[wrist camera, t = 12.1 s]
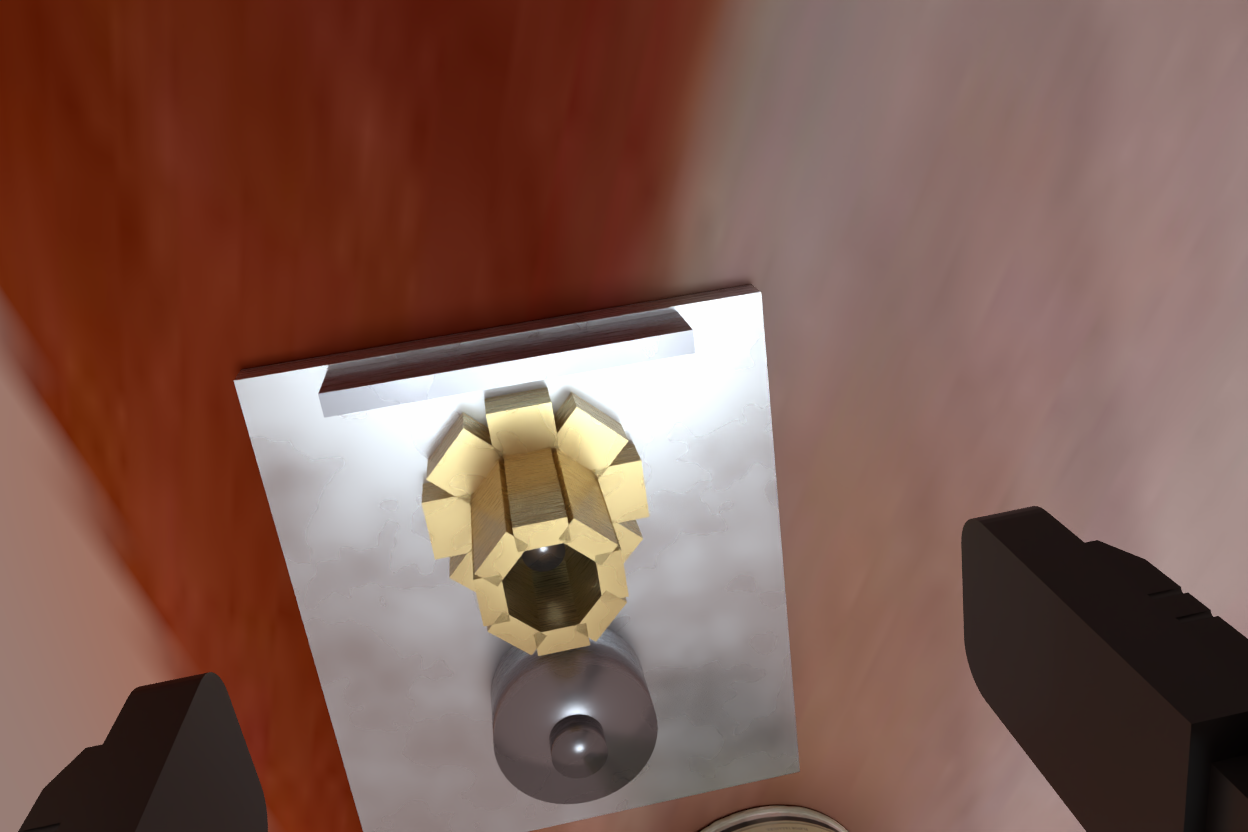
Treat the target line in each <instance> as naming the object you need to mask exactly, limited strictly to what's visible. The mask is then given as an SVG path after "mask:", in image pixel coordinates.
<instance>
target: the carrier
mask: <svg viewBox="0 0 1248 832" xmlns="http://www.w3.org/2000/svg"><path fill="white" fill-rule="evenodd" d="M234 383H235V387H236V390H237V394H238V397H239V401H240V404H241V408H242V411H243V415H244V418H245V422H246V425H247V429H248V432H249V436H250V439H251V443H252V446H253V449H254V453H255V456H256V460H257V463H258V467H259V470H260V474H261V477H262V481H263V484H264V488H265V491H266V495H267V498H268V502H269V505H270V509H271V512H272V516H273V519H274V523H275V526H276V530H277V533H278V537H279V540H280V543H281V547H282V550H283V554H284V557H285V561H286V564H287V568H288V571H289V575H290V578H291V582H292V585H293V589H294V592H295V596H296V599H297V603H298V606H299V610H300V613H301V617H302V620H303V624H304V627H305V631H306V634H307V637H308V641H309V644H310V648H311V651H312V655H313V658H314V662H315V665H316V669H317V672H318V676H319V679H320V683H321V686H322V690H323V693H324V697H325V700H326V704H327V707H328V711H329V714H330V718H331V721H332V724H333V728H334V731H335V735H336V738H337V742H338V745H339V749H340V752H341V756H342V759H343V763H344V766H345V770H346V773H347V777H348V780H349V784H350V787H351V791H352V794H353V798H354V801H355V805H356V808H357V812H358V815H359V818H360V822H361V825H362V829H363V832H528V831H532V830H537V829H541V828H546V827H550V826H555V825H560V824H564V823H569V822H573V821H578V820H582V819H587V818H591V817H596V816H600V815H605V814H609V813H614V812H619V811H623V810H628V809H632V808H637V807H641V806H646V805H650V804H655V803H659V802H664V801H668V800H673V799H678V798H682V797H687V796H691V795H696V794H700V793H705V792H709V791H714V790H718V789H723V788H727V787H732V786H737V785H741V784H746V783H750V782H755V781H759V780H764V779H768V778H773V777H777V776H782V775H786V774H791V773H796V772H800V769H799V756H798V744H797V732H796V719H795V707H794V694H793V682H792V670H791V657H790V645H789V632H788V620H787V607H786V595H785V583H784V570H783V558H782V545H781V533H780V521H779V508H778V496H777V483H776V471H775V459H774V446H773V434H772V421H771V409H770V396H769V384H768V372H767V359H766V347H765V334H764V322H763V310H762V297H761V291H759V290H758V289H757V288H756V287H754V286H753V285H752V284H750V285H744V286H738V287H732V288H726V289H720V290H715V291H709V292H703V293H697V294H691V295H685V296H679V297H673V298H667V299H661V300H655V301H649V302H643V303H637V304H631V305H625V306H619V307H613V308H607V309H601V310H595V311H589V312H583V313H577V314H571V315H565V316H559V317H553V318H547V319H541V320H536V321H530V322H524V323H518V324H512V325H506V326H500V327H494V328H488V329H482V330H476V331H470V332H464V333H458V334H452V335H446V336H440V337H434V338H428V339H422V340H416V341H410V342H404V343H398V344H392V345H386V346H380V347H374V348H368V349H362V350H357V351H351V352H345V353H339V354H333V355H327V356H321V357H315V358H309V359H303V360H297V361H291V362H285V363H279V364H273V365H267V366H261V367H255V368H249V369H243V370H241V371H240V372H239V374H238V375H237V377H236V378H235V380H234ZM545 387H547V388H548V392H549V396H550V399H551V403H552V409H553V415H555V413H556V412H557V411H558V409H559V408H560V407H561V405H562V404H563V403H564V401H565V400H566V399H567V397H568V396H569V395H570V393H571V392H573V393H574V394H576V395H577V396H579V397H580V398H582V399H583V400H585V401H586V402H588V403H589V404H591V405H592V406H594V407H596V408H597V409H599V410H600V411H602V412H603V413H605V414H606V415H608V416H609V417H611V418H612V419H614V420H615V421H617V422H618V423H620V424H621V425H622V427H623V429H624V432H625V434H626V436H627V438H628V442H627V443H626V445H627V444H632V443H634V445H635V448H636V450H637V452H638V454H639V456H640V459H641V462H642V469H643V476H644V482H645V489H646V496H647V503H648V510H649V517H646V518H641V519H636V521H637V524H638V526H639V529H640V532H641V534H642V537H643V540H642V541H641V542H640V543H639V545H638V546H637V547H636V548H635V550H634V551H633V552H632V554H631V555H630V556H629V557H628V559H627V560H626V561H625V562H624V569H625V575H626V582H627V588H628V594H629V597H626V600H627V603H626V605H625V606H624V607H623V608H622V610H621V611H620V612H619V613H618V615H617V616H616V617H615V618H614V620H613V621H612V622H611V623H610V625H609V626H608V627H607V628H606V630H605V631H604V632H603V633H602V635H601V636H600V637H599V638H598V640H597V641H596V642H595V641H594V640H592V639H590V638H589V642H590V645H589V646H584V647H579V648H575V649H570V650H565V651H561V652H556V653H551V654H546V655H542V656H538V653H537V649H536V650H535V652H534V653H533V654H532V655H530V654H528V653H526V652H524V651H523V650H521V649H519V648H517V647H515V646H513V645H511V644H510V643H508V642H506V641H504V640H502V639H500V638H498V637H497V636H495V635H493V634H491V633H489V632H487V626H483V622H482V617H481V613H480V608H479V604H478V599H477V595H476V592H474V591H472V590H470V589H469V588H467V587H465V586H463V585H461V584H459V583H458V582H456V581H454V580H452V579H450V578H449V563H450V557H446V558H441V559H436V560H435V558H434V553H433V549H432V545H431V541H430V537H429V532H428V528H427V524H426V520H425V516H424V511H423V507H422V489H423V484H425V483H430V481H428V480H426V478H427V462H428V460H429V459H430V457H431V456H432V454H433V453H434V452H435V450H436V449H437V447H438V446H439V445H440V443H441V442H442V440H443V439H444V438H445V436H446V435H447V434H448V432H449V431H450V429H451V428H452V427H453V425H454V424H455V422H456V421H457V420H458V418H459V417H460V415H461V414H462V413H463V412H464V413H465V414H467V415H469V416H470V417H472V418H473V419H475V420H477V421H478V422H480V423H482V424H483V425H485V426H486V427H488V423H487V418H486V412H485V400H484V399H485V398H491V397H496V396H502V395H507V394H512V393H518V392H523V391H529V390H534V389H539V388H545ZM564 556H565V545H564V543H562V544H557V545H552V546H547V547H542V548H537V549H532V550H527V551H524V552H523V554H522V559H523V561H524V563H525V564H526V565H527V566H528V567H529V568H531V569H532V570H535V571H540V572H544V571H549V570H552V569H554V568H556V567H557V566H558V565H559V564H560V563H561V562H562V561H563V559H564Z"/></svg>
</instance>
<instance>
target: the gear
mask: <svg viewBox="0 0 1248 832" xmlns="http://www.w3.org/2000/svg"><path fill="white" fill-rule="evenodd" d="M484 400H485V412H486V418H487V423H488V427H486V426H485V425H483V424H482V423H480V422H478V421H477V420H475V419H473V418H472V417H470V416H469V415H467V414H465V413H464V412H463V413H462V414H461V415H460V417H459V418H458V420H457V421H456V422H455V424H454V425H453V427H452V428H451V429H450V431H449V432H448V434H447V435H446V436H445V438H444V439H443V440H442V442H441V443H440V445H439V446H438V447H437V449H436V450H435V452H434V453H433V454H432V456H431V457H430V459H429V460H428V462H427V478H426V480H428V481H430V483H425V484H423V489H422V507H423V511H424V516H425V520H426V524H427V528H428V532H429V537H430V541H431V545H432V549H433V553H434V558H435V560H436V559H441V558H446V557H450V563H449V578H450V579H452V580H454V581H456V582H458V583H459V584H461V585H463V586H465V587H467V588H469V589H470V590H472V591H474V592H476V595H477V599H478V604H479V608H480V613H481V617H482V622H483V626H487V632H489V633H491V634H493V635H495V636H497V637H498V638H500V639H502V640H504V641H506V642H508V643H510V644H511V645H513V646H515V647H517V648H519V649H521V650H523V651H524V652H526V653H528V654H530V655H532V654H533V653H534V652H535V650H536V649H537V653H538V656H542V655H546V654H551V653H556V652H561V651H565V650H570V649H575V648H579V647H584V646H589V645H590V642H589V638H590V639H592V640H594V641H595V642H596V641H597V640H598V638H599V637H600V636H601V635H602V633H603V632H604V631H605V630H606V628H607V627H608V626H609V625H610V623H611V622H612V621H613V620H614V618H615V617H616V616H617V615H618V613H619V612H620V611H621V610H622V608H623V607H624V606H625V605H626V603H627V600H626V597H629V594H628V588H627V582H626V575H625V569H624V562H625V561H626V560H627V559H628V557H629V556H630V555H631V554H632V552H633V551H634V550H635V548H636V547H637V546H638V545H639V543H640V542H641V541H642V540H643V537H642V534H641V532H640V529H639V526H638V524H637V521H636V519H641V518H646V517H649V510H648V503H647V496H646V489H645V482H644V476H643V469H642V462H641V459H640V456H639V454H638V452H637V450H636V448H635V445H634V443H632V444H627V445H626V443H627V442H628V438H627V436H626V434H625V432H624V429H623V427H622V425H621V424H620V423H618V422H617V421H615V420H614V419H612V418H611V417H609V416H608V415H606V414H605V413H603V412H602V411H600V410H599V409H597V408H596V407H594V406H592V405H591V404H589V403H588V402H586V401H585V400H583V399H582V398H580V397H579V396H577V395H576V394H574V393H573V392H571V393H570V395H569V396H568V397H567V399H566V400H565V401H564V403H563V404H562V405H561V407H560V408H559V409H558V411H557V412H556V413H555V415H553V409H552V403H551V399H550V396H549V392H548V388H547V387H545V388H539V389H534V390H529V391H523V392H518V393H512V394H507V395H502V396H496V397H491V398H485V399H484ZM562 543H564V545H565V556H564V559H563V561H562V562H561V563H560V564H559V565H558V566H557V567H556V568H554V569H552V570H549V571H544V572H540V571H535V570H532V569H531V568H529V567H528V566H527V565H526V564H525V563H524V561H523V559H522V554H523V552H524V551H527V550H532V549H537V548H542V547H547V546H552V545H557V544H562Z"/></svg>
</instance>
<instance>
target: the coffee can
mask: <svg viewBox="0 0 1248 832" xmlns="http://www.w3.org/2000/svg"><path fill="white" fill-rule="evenodd" d="M700 832H848V831H847V830H846V829H845V828H844V827H843V826H842V825H840V824H839V823H838V822H836V821H835V820H833V819H831V818H830V817H828V816H826V815H824V814H821V813H819V812H816V811H813V810H810V809H807V808H803V807H796V806H765V807H758V808H753V809H749V810H745V811H742V812H738V813H735V814H732V815H730V816H728V817H725V818H723V819H720V820H718V821H716V822H714V823H712V824H711V825H710V826H708V827H706V828H705V829H703V830H702V831H700Z"/></svg>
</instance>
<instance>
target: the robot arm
mask: <svg viewBox="0 0 1248 832" xmlns="http://www.w3.org/2000/svg"><path fill="white" fill-rule="evenodd" d="M961 545H962V579H963V613H964V641H965V650H966V655H967V659H968V663H969V667H970V670H971V673H972V676H973V678H974V680H975V683H976V685H977V687H978V689H979V691H980V693H981V694H982V696H983V697H984V699H985V700H986V702H987V703H988V704H989V706H990V707H991V708H992V710H993V711H994V712H995V713H996V715H997V716H998V717H999V719H1000V720H1001V721H1002V723H1003V724H1004V725H1005V726H1006V728H1007V729H1008V730H1009V732H1010V733H1011V734H1012V736H1013V737H1014V738H1015V739H1016V741H1017V742H1018V743H1019V745H1020V746H1021V747H1022V748H1023V750H1024V751H1025V752H1026V754H1027V755H1028V756H1029V758H1030V759H1031V760H1032V761H1033V763H1034V764H1035V765H1036V767H1037V768H1038V769H1039V771H1040V772H1041V773H1042V774H1043V776H1044V777H1045V778H1046V780H1047V781H1048V782H1049V784H1050V785H1051V786H1052V787H1053V789H1054V790H1055V791H1056V793H1057V794H1058V795H1059V797H1060V798H1061V799H1062V800H1063V802H1064V803H1065V804H1066V806H1067V807H1068V808H1069V810H1070V811H1071V812H1072V813H1073V815H1074V816H1075V817H1076V819H1077V820H1078V821H1079V823H1080V824H1081V825H1082V826H1083V828H1084V829H1085V830H1086V832H1248V639H1247V638H1246V637H1245V636H1243V635H1242V634H1241V633H1239V632H1238V631H1237V630H1236V629H1234V628H1233V627H1232V626H1230V625H1229V624H1228V623H1227V622H1225V621H1224V620H1223V619H1221V618H1220V617H1219V616H1216V617H1213V616H1212V614H1211V610H1210V609H1209V608H1207V607H1206V606H1205V605H1203V604H1202V603H1201V602H1200V601H1198V600H1197V599H1196V598H1194V597H1193V596H1192V595H1191V594H1189V593H1184V594H1183V592H1182V590H1181V587H1180V586H1179V585H1178V584H1176V583H1175V582H1174V581H1172V580H1171V579H1170V578H1169V577H1167V576H1166V575H1165V574H1163V573H1162V572H1161V571H1160V570H1158V569H1157V568H1156V567H1154V566H1153V565H1152V564H1151V563H1149V562H1148V561H1147V560H1145V559H1143V558H1140V557H1138V556H1135V555H1133V554H1130V553H1128V552H1125V551H1123V550H1120V549H1118V548H1115V547H1113V546H1110V545H1108V544H1105V543H1103V542H1100V541H1098V540H1096V541H1091V542H1086V543H1084V542H1083V541H1082V540H1081V539H1079V538H1078V537H1077V536H1076V535H1075V534H1073V533H1072V532H1071V531H1070V530H1068V529H1067V528H1066V527H1065V526H1064V525H1062V524H1061V523H1060V522H1059V521H1058V520H1056V519H1055V518H1054V517H1053V516H1052V515H1050V514H1049V513H1048V512H1047V511H1045V510H1044V509H1042V508H1040V507H1038V506H1032V507H1027V508H1022V509H1017V510H1012V511H1008V512H1003V513H998V514H993V515H988V516H983V517H978V518H973V519H970V520H968V521H967V522H966V523H965V525H964V527H963V531H962V542H961ZM18 832H268V823H267V811H266V804H265V798H264V794H263V790H262V787H261V784H260V781H259V778H258V776H257V773H256V770H255V767H254V764H253V762H252V759H251V756H250V753H249V751H248V748H247V745H246V742H245V739H244V737H243V734H242V731H241V728H240V725H239V723H238V720H237V717H236V714H235V712H234V709H233V706H232V703H231V700H230V698H229V695H228V692H227V690H226V687H225V685H224V683H223V682H222V680H221V679H220V677H219V676H218V675H216V674H215V673H213V672H209V673H204V674H199V675H194V676H189V677H184V678H180V679H175V680H170V681H165V682H160V683H155V684H150V685H145V686H140V687H138V688H136V689H134V690H133V691H132V692H131V694H130V695H129V697H128V699H127V700H126V702H125V704H124V706H123V708H122V710H121V712H120V713H119V716H118V717H117V719H116V721H115V723H114V725H113V726H112V729H111V730H110V732H109V734H108V736H107V738H106V740H105V741H104V743H103V745H98V746H93V747H88V748H85V749H84V750H83V751H82V752H81V753H80V754H79V755H78V756H77V757H76V758H75V759H74V760H73V761H72V762H71V763H70V764H69V765H68V766H67V767H65V768H64V769H63V770H62V771H61V772H60V773H59V774H58V775H57V776H56V777H55V778H54V779H53V780H52V781H51V782H50V783H49V784H48V785H47V786H46V787H45V788H44V789H43V790H42V792H41V794H40V795H39V797H38V799H37V800H36V802H35V804H34V805H33V807H32V809H31V811H30V812H29V814H28V816H27V817H26V819H25V821H24V823H23V824H22V826H21V828H20V829H19V831H18Z"/></svg>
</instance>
